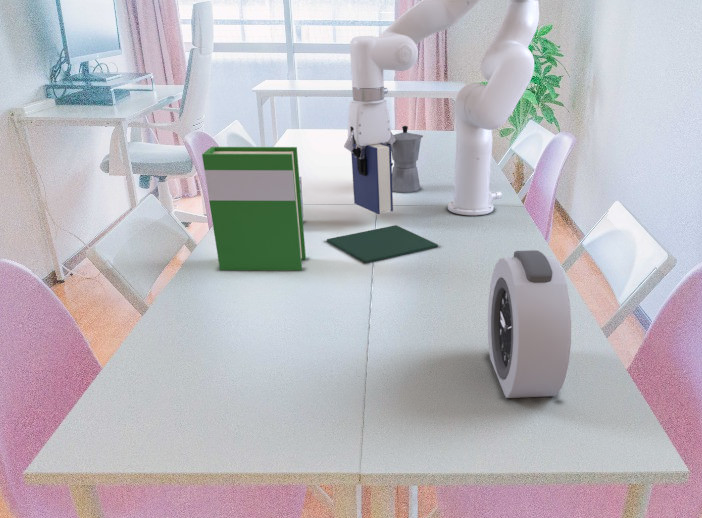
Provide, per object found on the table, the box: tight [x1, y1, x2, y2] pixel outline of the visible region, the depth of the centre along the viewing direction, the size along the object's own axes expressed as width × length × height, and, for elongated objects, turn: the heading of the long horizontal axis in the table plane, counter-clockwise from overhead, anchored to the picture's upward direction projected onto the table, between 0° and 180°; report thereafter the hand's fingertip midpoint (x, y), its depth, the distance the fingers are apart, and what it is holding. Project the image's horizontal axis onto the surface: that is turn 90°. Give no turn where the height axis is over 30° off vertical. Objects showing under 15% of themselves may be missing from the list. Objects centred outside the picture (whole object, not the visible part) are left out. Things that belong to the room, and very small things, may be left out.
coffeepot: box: [391, 125, 424, 194], centre depth 196 cm, size 15×9×18 cm, turn 129°
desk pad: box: [326, 224, 439, 264], centre depth 158 cm, size 20×18×1 cm
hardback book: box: [201, 146, 307, 271], centre depth 140 cm, size 18×7×24 cm, turn 90°
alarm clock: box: [487, 249, 572, 399], centre depth 100 cm, size 21×8×20 cm, turn 5°
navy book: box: [350, 143, 394, 215], centre depth 169 cm, size 4×12×16 cm, turn 34°
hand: (371, 172), depth 168 cm, fingers closed on navy book, 4 cm apart
